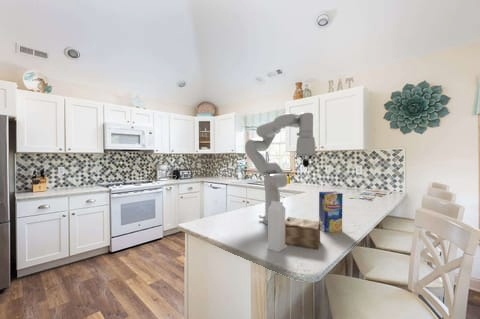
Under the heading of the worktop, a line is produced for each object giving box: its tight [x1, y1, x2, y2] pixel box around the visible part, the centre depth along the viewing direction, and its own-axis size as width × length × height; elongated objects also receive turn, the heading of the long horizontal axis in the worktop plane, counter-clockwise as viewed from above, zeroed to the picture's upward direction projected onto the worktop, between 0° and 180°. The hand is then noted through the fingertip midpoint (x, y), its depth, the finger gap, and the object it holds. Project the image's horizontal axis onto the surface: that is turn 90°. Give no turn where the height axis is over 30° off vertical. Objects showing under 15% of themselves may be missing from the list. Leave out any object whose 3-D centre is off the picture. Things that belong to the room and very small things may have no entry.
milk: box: [267, 201, 286, 253], centre depth 106 cm, size 6×6×22 cm
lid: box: [285, 216, 320, 231], centre depth 113 cm, size 16×12×2 cm
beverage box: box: [318, 191, 343, 233], centre depth 134 cm, size 7×11×22 cm, turn 99°
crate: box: [285, 224, 321, 251], centre depth 113 cm, size 16×12×9 cm
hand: (305, 167), depth 130 cm, fingers closed
